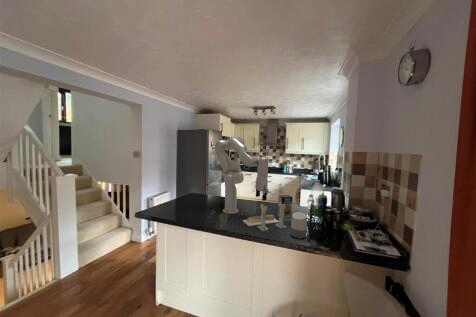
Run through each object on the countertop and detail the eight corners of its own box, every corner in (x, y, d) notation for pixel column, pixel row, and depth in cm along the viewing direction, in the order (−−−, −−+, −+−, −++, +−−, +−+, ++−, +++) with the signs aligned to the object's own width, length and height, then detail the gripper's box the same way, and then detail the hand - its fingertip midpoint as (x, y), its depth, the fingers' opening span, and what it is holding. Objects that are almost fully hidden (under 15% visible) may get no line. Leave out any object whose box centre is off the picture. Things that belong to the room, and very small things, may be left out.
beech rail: (247, 221, 146) (247, 217, 146) (271, 218, 153) (272, 214, 153) (249, 223, 143) (249, 218, 143) (274, 219, 151) (274, 215, 150)
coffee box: (281, 218, 156) (282, 197, 155) (277, 215, 163) (278, 195, 162) (292, 217, 159) (292, 196, 158) (287, 214, 165) (288, 194, 164)
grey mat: (242, 221, 148) (242, 220, 148) (271, 217, 157) (271, 216, 157) (248, 226, 139) (248, 225, 139) (279, 222, 148) (279, 221, 148)
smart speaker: (288, 237, 124) (289, 214, 123) (293, 232, 132) (294, 210, 131) (304, 241, 119) (305, 217, 118) (308, 235, 127) (309, 213, 126)
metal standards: (257, 227, 137) (258, 203, 136) (281, 224, 144) (282, 201, 143) (261, 231, 132) (262, 206, 131) (286, 227, 139) (287, 203, 138)
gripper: (252, 172, 153) (250, 195, 154) (263, 177, 137) (262, 202, 138) (261, 172, 156) (259, 194, 157) (273, 176, 140) (271, 201, 141)
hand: (260, 198), depth 148 cm, fingers open, 9 cm apart
